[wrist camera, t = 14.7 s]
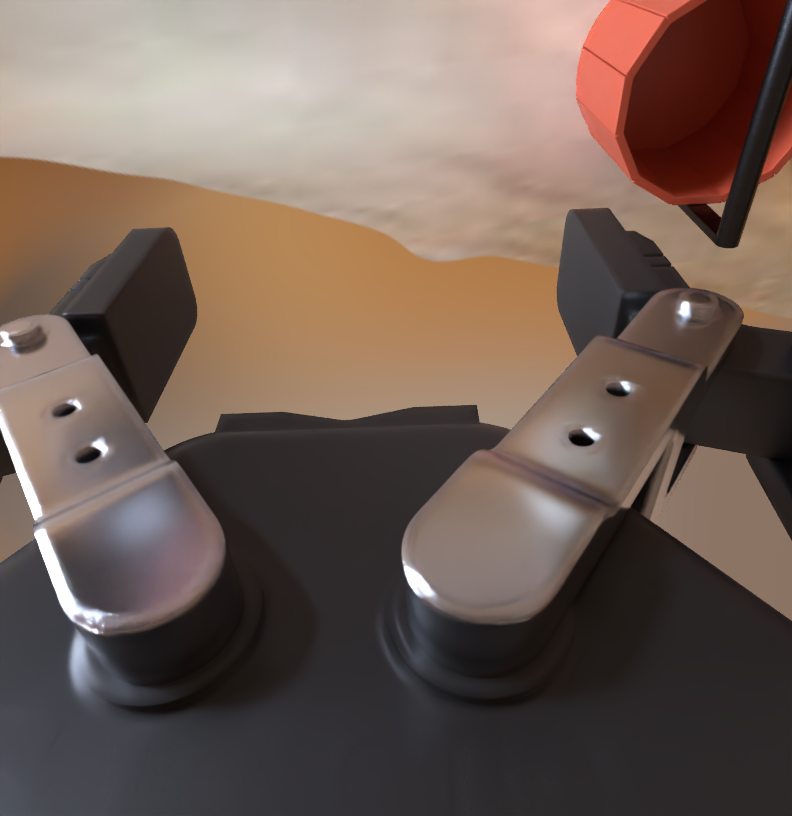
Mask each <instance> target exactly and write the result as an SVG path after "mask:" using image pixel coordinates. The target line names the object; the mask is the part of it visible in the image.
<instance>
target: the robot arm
mask: <svg viewBox="0 0 792 816" xmlns="http://www.w3.org/2000/svg"><path fill="white" fill-rule="evenodd" d="M557 302H558V309H559V312H560V315H561V317H562V320H563V322H564V325H565V327H566V330H567V332H568V334H569V337H570V339H571V342H572V344H573V347H574V349H575V352H576V354H577V357H576V358H575V360H574V361H573V362H572V363H571V364H570V365H569V366H568V367H567V368H566V369H565V371H564V372H563V373H562V374H561V375H560V376H559V377H558V378H557V379H556V381H555V382H554V383H553V384H552V385H551V386H550V387H549V388H548V390H547V391H546V392H545V393H544V394H543V395H542V396H541V397H540V398H539V399H538V401H537V402H536V403H535V404H534V405H533V406H532V407H531V408H530V409H529V410H528V412H527V413H526V414H525V415H524V416H523V417H522V418H521V419H520V420H519V422H518V423H517V424H516V425H515V426H514V427H513V428H512V429H511V430H509V429H507V428H504V427H499V426H495V425H491V424H485V423H480V422H479V416H478V410H477V405H461V406H433V407H412V408H407V409H402V410H397V411H393V412H388V413H383V414H378V415H373V416H368V417H363V418H359V419H354V420H337V419H330V418H323V417H315V416H308V415H301V414H294V413H286V412H270V413H242V414H221V416H220V419H219V422H218V425H217V428H216V431H215V432H214V433H210V434H205V435H202V436H198V437H195V438H192V439H189V440H187V441H184V442H181V443H179V444H177V445H175V446H173V447H170V448H168V449H166V450H163V449H162V447H161V446H160V444H159V443H158V441H157V440H156V439H155V437H154V436H153V434H152V433H151V431H150V430H149V428H148V427H147V426H146V424H145V423H147V422H148V421H149V418H150V416H151V414H152V412H153V410H154V408H155V406H156V404H157V402H158V400H159V398H160V396H161V394H162V392H163V390H164V388H165V386H166V384H167V382H168V380H169V378H170V376H171V374H172V372H173V370H174V368H175V366H176V364H177V362H178V360H179V358H180V356H181V353H182V352H183V349H184V348H185V346H186V343H187V341H188V339H189V337H190V335H191V333H192V331H193V329H194V327H195V325H196V320H197V304H196V298H195V295H194V291H193V288H192V284H191V281H190V277H189V274H188V270H187V267H186V263H185V260H184V256H183V253H182V250H181V246H180V243H179V239H178V237H177V235H176V233H175V232H174V230H173V229H172V228H169V227H168V228H146V229H133V230H132V231H131V232H130V233H129V234H128V235H127V236H126V238H125V239H124V240H123V241H122V242H121V243H120V245H119V246H118V247H117V248H116V249H115V251H114V252H113V253H112V254H109V255H108V256H106V257H104V258H103V259H101V260H99V261H98V262H96V263H94V264H93V265H91V266H90V267H89V268H88V270H87V271H86V272H85V273H84V274H83V275H82V276H81V278H80V281H77V282H76V283H75V284H74V285H73V287H72V288H71V291H70V292H67V293H66V294H65V296H64V297H63V298H62V299H61V300H60V301H59V302H58V304H57V305H56V306H55V307H54V308H53V309H52V310H51V312H50V313H49V314H48V315H46V314H45V315H34V316H28V317H24V318H20V319H17V320H14V321H11V322H8V323H6V324H4V325H1V326H0V483H1V481H2V477H3V476H5V475H9V474H12V473H18V476H19V478H20V481H21V484H22V486H23V489H24V492H25V494H26V497H27V499H28V502H29V505H30V508H31V510H32V512H33V515H34V518H35V521H36V524H34V526H33V527H34V532H35V535H36V539H34V540H33V541H31V542H30V543H28V544H27V545H26V546H24V547H23V548H21V549H20V550H18V551H17V552H15V553H14V554H13V555H11V556H10V557H8V558H7V559H5V560H4V561H3V562H1V563H0V816H792V621H791V620H790V619H788V618H787V617H785V616H784V615H783V614H781V613H780V612H778V611H777V610H775V609H774V608H773V607H771V606H770V605H769V604H767V603H766V602H764V601H763V600H761V599H760V598H758V597H757V596H756V595H754V594H753V593H752V592H750V591H749V590H747V589H746V588H745V587H743V586H742V585H740V584H739V583H737V582H736V581H735V580H733V579H732V578H730V577H729V576H728V575H726V574H725V573H723V572H722V571H721V570H719V569H718V568H716V567H715V566H714V565H712V564H711V563H709V562H708V561H707V560H705V559H704V558H702V557H701V556H700V555H698V554H697V553H695V552H694V551H693V550H691V549H689V548H688V547H687V546H685V545H684V544H683V543H681V542H680V541H678V540H677V539H676V538H674V537H673V536H671V535H670V534H669V533H667V532H666V531H664V530H663V529H662V528H660V527H659V526H657V522H658V520H659V518H660V516H661V514H662V512H663V510H664V508H665V507H666V505H667V503H668V501H669V499H670V497H671V495H672V494H673V492H674V490H675V488H676V486H677V485H678V483H679V481H680V479H681V477H682V475H683V474H684V472H685V470H686V468H687V466H688V464H689V463H690V461H691V459H692V457H693V455H694V454H695V451H696V449H697V446H698V445H700V446H705V447H711V448H716V449H722V450H727V451H732V452H738V453H743V454H746V458H747V460H748V462H749V464H750V466H751V468H752V470H753V471H754V473H755V475H756V477H757V478H758V480H759V482H760V484H761V486H762V488H763V489H764V491H765V493H766V495H767V497H768V499H769V500H770V502H771V504H772V506H773V508H774V509H775V511H776V513H777V515H778V517H779V518H780V520H781V522H782V524H783V526H784V527H785V529H786V531H787V533H788V535H789V536H790V538H791V540H792V332H789V331H781V330H774V329H766V328H758V327H752V326H747V325H743V324H742V321H743V318H744V313H743V311H742V309H741V308H740V306H739V305H738V304H736V303H735V302H734V301H732V300H731V299H729V298H727V297H725V296H723V295H720V294H718V293H715V292H711V291H707V290H702V289H695V288H690V287H689V286H688V285H687V283H686V282H685V281H684V280H683V278H682V277H681V276H680V275H679V273H678V272H677V271H676V269H675V268H674V267H671V263H670V262H669V261H668V259H667V258H666V257H665V256H663V253H662V252H661V250H660V249H659V248H658V247H657V245H656V244H655V243H654V242H653V241H652V240H650V239H648V238H646V237H644V236H643V235H641V234H639V233H637V232H635V231H625V230H624V228H623V227H622V225H621V224H620V223H619V221H618V220H617V219H616V217H615V216H614V214H613V213H612V212H611V210H610V209H609V208H594V209H572V210H570V211H569V212H568V215H567V218H566V222H565V229H564V236H563V244H562V251H561V259H560V267H559V274H558V282H557Z"/></svg>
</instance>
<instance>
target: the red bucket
mask: <svg viewBox="0 0 792 816" xmlns="http://www.w3.org/2000/svg"><path fill="white" fill-rule="evenodd" d="M576 96H577V98H576V99H577V101H578V104H579V107H580V110H581V113H582V116H583V118H584V120H585V122H586V124H587V125H588V128H589V130H590V133H591V135H592V136H593V138H594V139H595V140H596V141H597V142H598V143H599V144H600V145H601V147H602V148H603V149H604V150H605V151H606V152H607V153H608V154H609V156H610V157H611V158H612V159H613V160H614V161H615V162H616V163H617V165H618V166H619V167H620V168H621V169H622V170H623V171H624V173H625V174H626V175H627V176H628V177H629V178H630V179H631V180H632V182H633V183H635V184H636V185H638V186H640V187H641V188H643V189H645V190H646V191H648V192H650V193H652V194H653V195H655V196H657V197H658V198H660V199H662V200H663V201H665V202H667V203H668V204H672V205H678V206H679V207H680V208H681V209H682V210H683V211H684V212H685V213H686V214H687V215H688V216H689V217H690V219H691V220H692V221H693V222H694V223H695V224H696V225H697V226H698V227H699V228H700V229H701V230H702V231H703V232H704V233H705V234H706V235H707V236H708V237H709V238H710V239H711V240H712V241H713V242H714V243H715V244H716V245H717V246H719V247H723V248H735V247H737V246H738V245H739V242H740V239H741V236H742V233H743V230H744V227H745V223H746V220H747V217H748V214H749V211H750V208H751V205H752V202H753V199H754V196H755V193H756V190H757V187H758V184H760V183H762V182H764V181H765V180H767V179H769V178H771V177H773V176H774V174H777V173H778V172H779V171H780V170H781V168H782V167H783V166H784V165H785V164H786V163H787V162H788V161H789V159H790V158H791V157H792V0H611V1H610V2H609V3H608V5H607V6H606V7H605V8H604V9H603V11H602V12H601V14H600V15H599V17H598V18H597V19H596V21H595V23H594V25H593V26H592V28H591V30H590V32H589V34H588V36H587V39H586V41H585V43H584V45H583V48H582V52H581V56H580V59H579V65H578V70H577V93H576ZM725 201H726V204H725V207H724V211H723V214H722V218H721V217H720V216H719V215H718V214H717V213H715V212H714V211H713V210H712V209H711V208H710V207H709V206H708V205H707V204H710V203H721V202H725Z"/></svg>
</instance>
